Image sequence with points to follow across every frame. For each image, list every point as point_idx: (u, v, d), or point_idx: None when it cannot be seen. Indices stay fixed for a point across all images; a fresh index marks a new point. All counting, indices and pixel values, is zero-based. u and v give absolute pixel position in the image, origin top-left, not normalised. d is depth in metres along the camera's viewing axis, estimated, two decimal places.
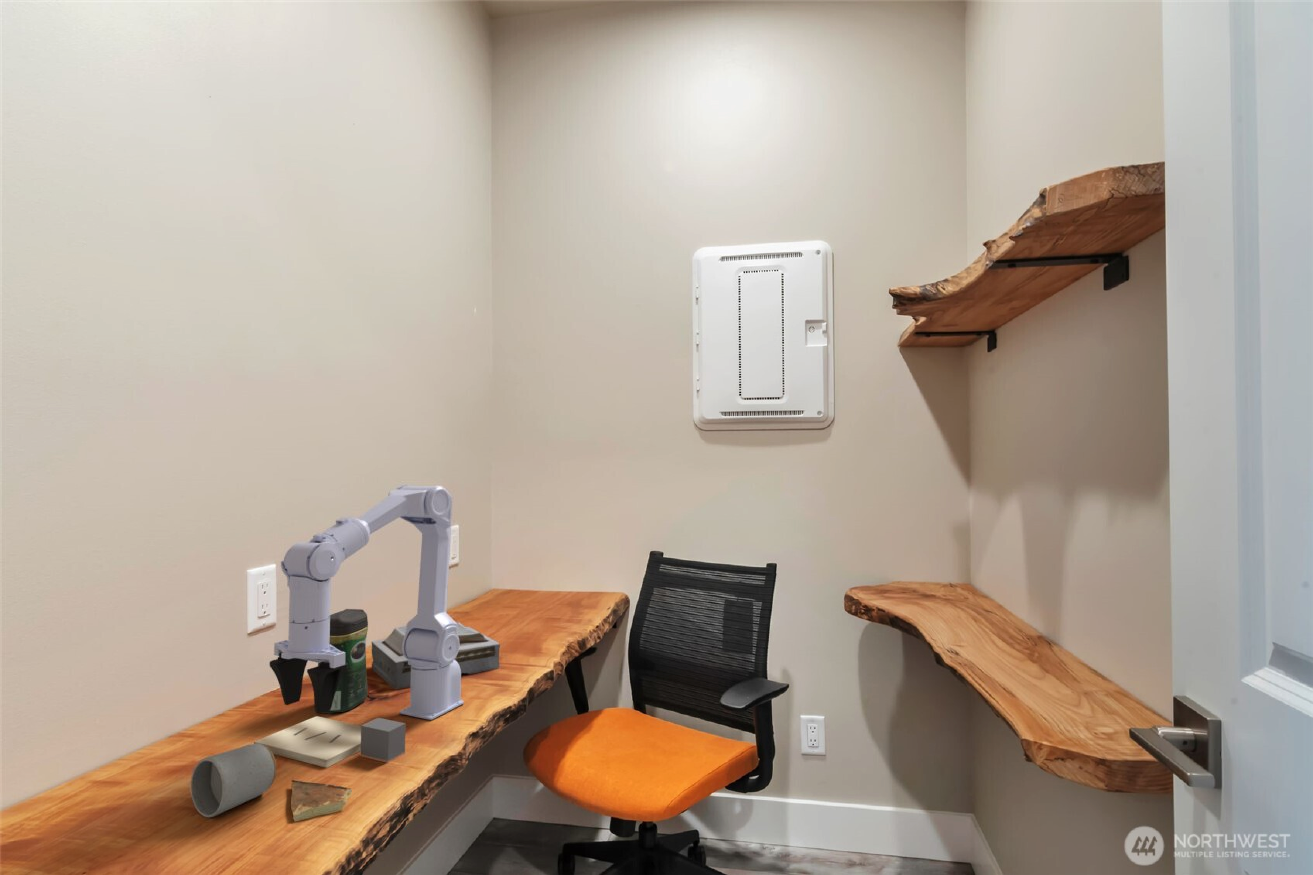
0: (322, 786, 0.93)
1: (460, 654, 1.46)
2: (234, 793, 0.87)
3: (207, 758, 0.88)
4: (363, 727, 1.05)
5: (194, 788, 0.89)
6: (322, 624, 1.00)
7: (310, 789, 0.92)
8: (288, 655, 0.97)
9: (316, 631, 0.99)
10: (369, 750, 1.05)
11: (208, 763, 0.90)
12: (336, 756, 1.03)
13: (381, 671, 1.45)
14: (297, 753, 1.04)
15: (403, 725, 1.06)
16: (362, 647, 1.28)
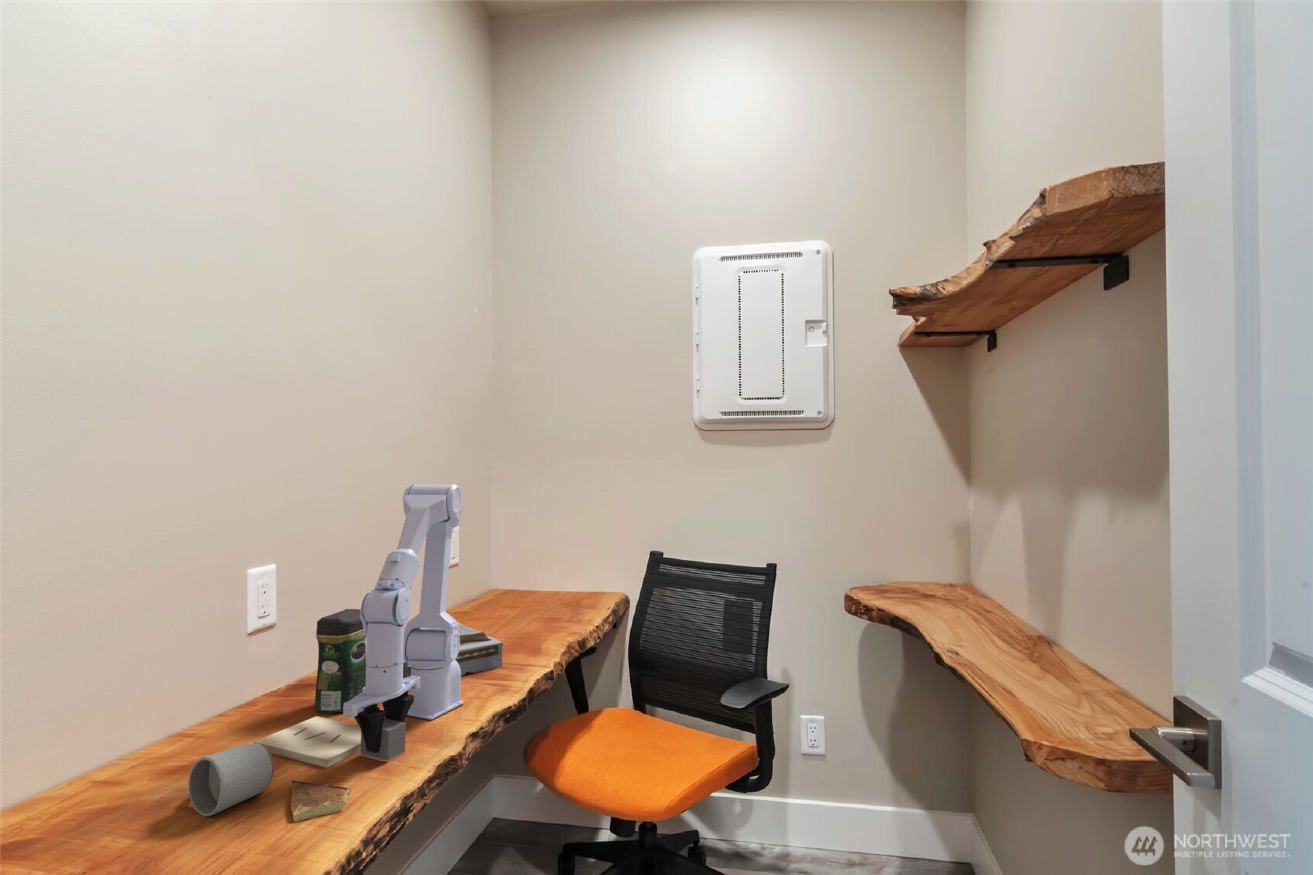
0: (322, 786, 0.93)
1: (465, 653, 1.46)
2: (232, 792, 0.87)
3: (205, 757, 0.88)
4: None
5: (192, 787, 0.89)
6: (372, 670, 1.04)
7: (310, 789, 0.92)
8: (363, 688, 1.07)
9: (368, 675, 1.04)
10: None
11: (206, 762, 0.90)
12: (336, 756, 1.03)
13: None
14: (297, 753, 1.04)
15: (403, 724, 1.06)
16: (362, 647, 1.28)
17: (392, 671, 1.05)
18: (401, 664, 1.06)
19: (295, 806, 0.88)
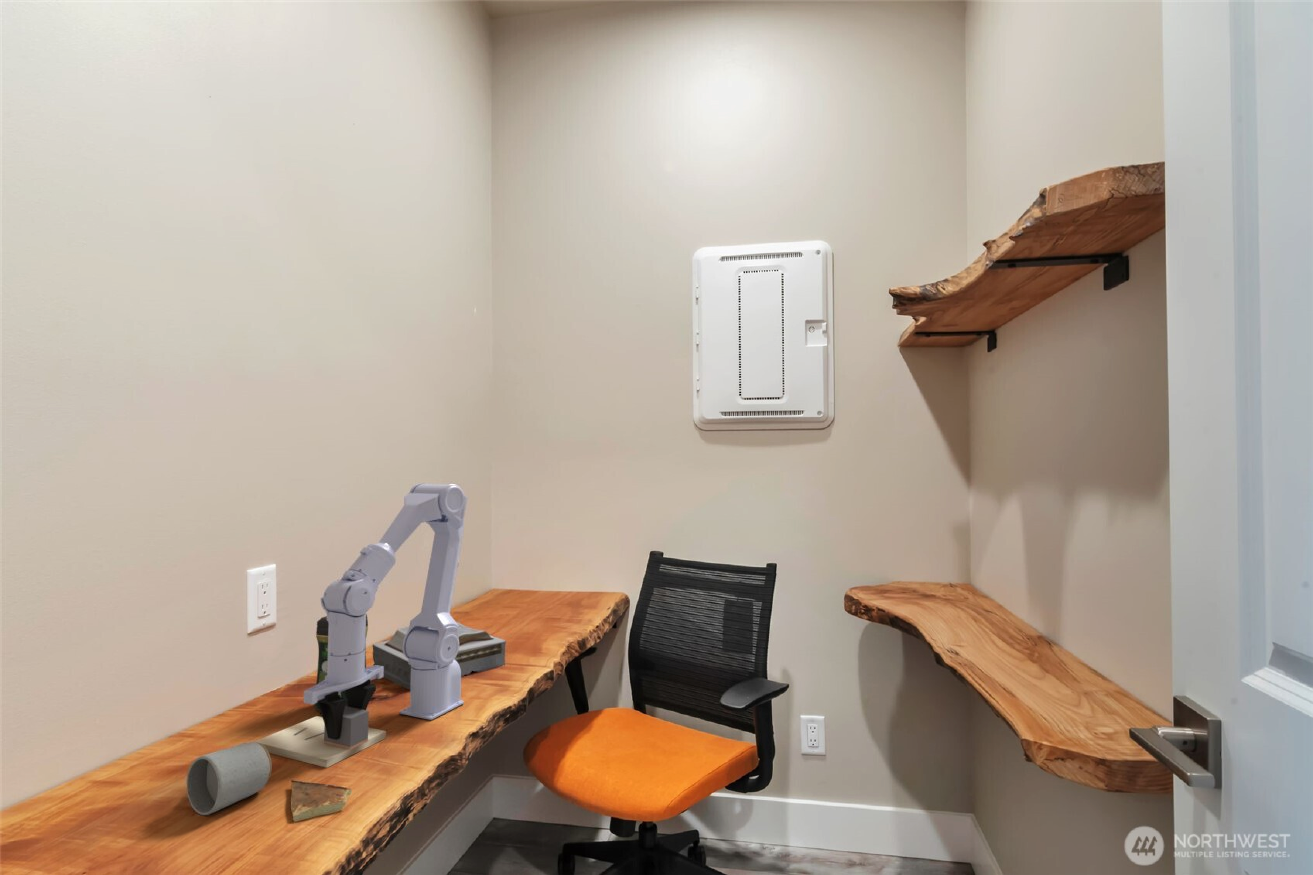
0: (322, 786, 0.93)
1: (470, 653, 1.47)
2: (230, 791, 0.88)
3: (203, 756, 0.89)
4: None
5: (190, 786, 0.90)
6: (333, 659, 1.06)
7: (310, 789, 0.92)
8: (325, 676, 1.09)
9: (329, 664, 1.06)
10: None
11: (204, 761, 0.91)
12: (336, 756, 1.03)
13: (388, 673, 1.43)
14: (297, 753, 1.04)
15: (366, 712, 1.08)
16: None
17: (353, 660, 1.07)
18: (362, 653, 1.09)
19: (295, 806, 0.88)
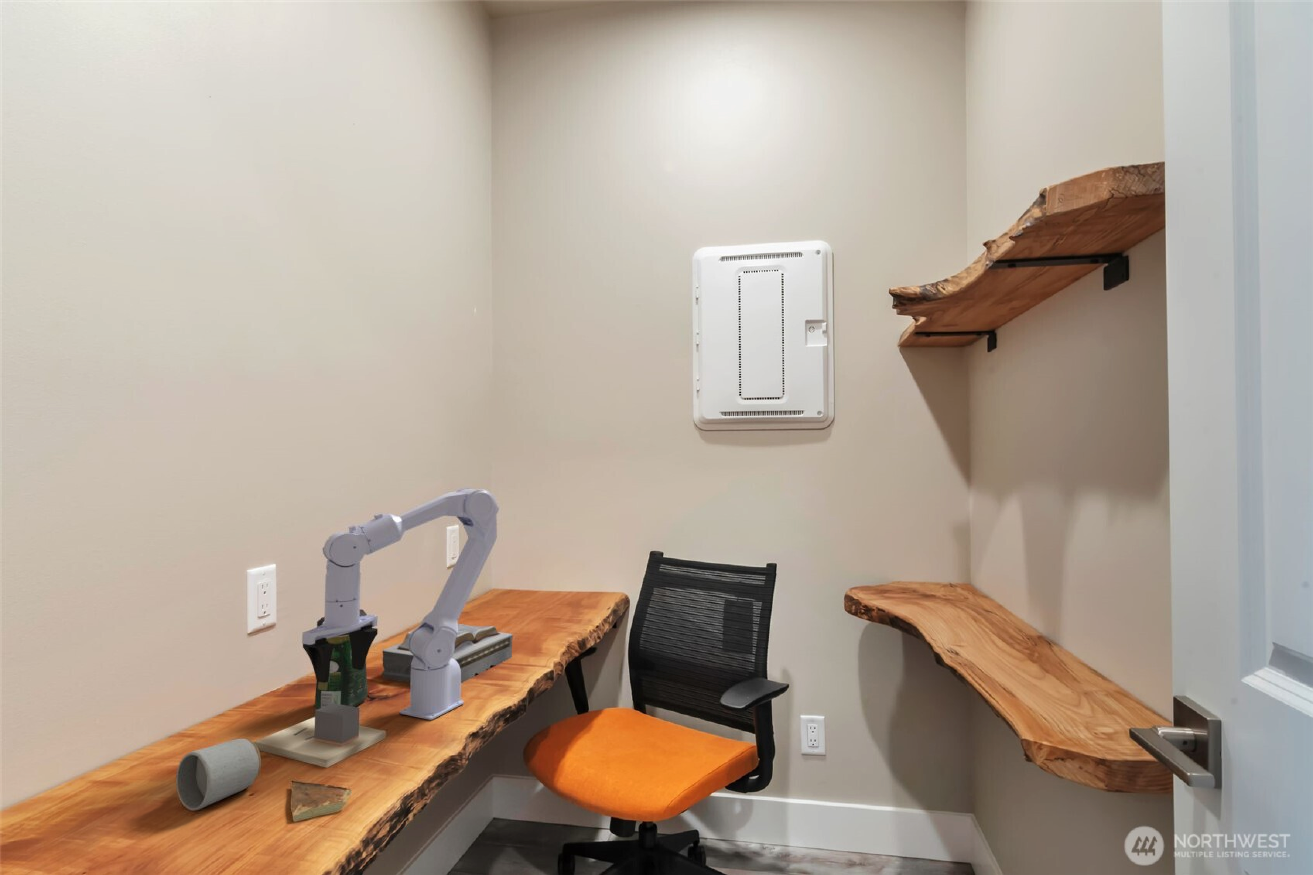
0: (322, 786, 0.93)
1: (490, 647, 1.51)
2: (219, 787, 0.89)
3: (192, 752, 0.90)
4: (317, 712, 1.08)
5: (180, 782, 0.91)
6: (329, 605, 1.14)
7: (310, 789, 0.92)
8: (322, 623, 1.17)
9: (326, 609, 1.14)
10: (323, 734, 1.08)
11: (194, 757, 0.92)
12: (336, 756, 1.03)
13: None
14: (297, 753, 1.04)
15: (357, 709, 1.10)
16: None
17: (348, 606, 1.14)
18: (357, 600, 1.16)
19: (295, 806, 0.88)
